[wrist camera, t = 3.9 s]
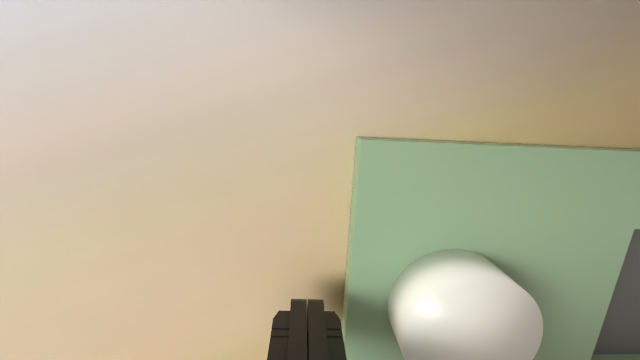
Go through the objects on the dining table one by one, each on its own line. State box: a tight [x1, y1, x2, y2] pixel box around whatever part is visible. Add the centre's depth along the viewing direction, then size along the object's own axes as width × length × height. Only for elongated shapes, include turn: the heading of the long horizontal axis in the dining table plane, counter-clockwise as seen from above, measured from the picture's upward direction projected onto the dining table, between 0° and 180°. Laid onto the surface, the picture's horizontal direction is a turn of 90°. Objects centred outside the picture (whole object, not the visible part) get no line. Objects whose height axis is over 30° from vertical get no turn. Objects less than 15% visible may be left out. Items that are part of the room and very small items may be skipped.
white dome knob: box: [387, 249, 543, 360], centre depth 14 cm, size 6×6×2 cm
